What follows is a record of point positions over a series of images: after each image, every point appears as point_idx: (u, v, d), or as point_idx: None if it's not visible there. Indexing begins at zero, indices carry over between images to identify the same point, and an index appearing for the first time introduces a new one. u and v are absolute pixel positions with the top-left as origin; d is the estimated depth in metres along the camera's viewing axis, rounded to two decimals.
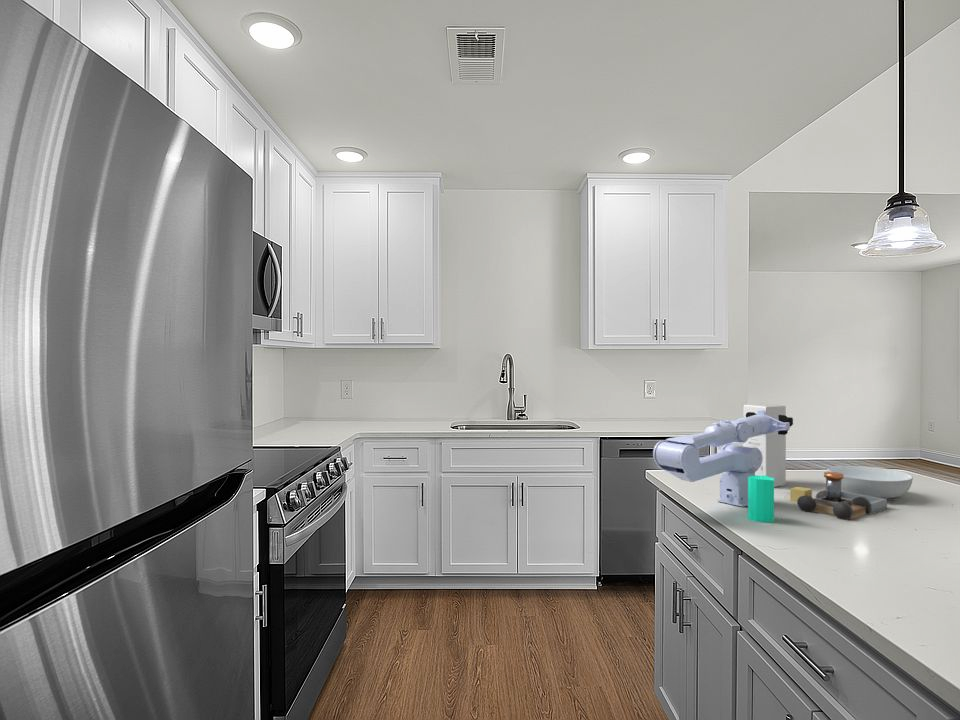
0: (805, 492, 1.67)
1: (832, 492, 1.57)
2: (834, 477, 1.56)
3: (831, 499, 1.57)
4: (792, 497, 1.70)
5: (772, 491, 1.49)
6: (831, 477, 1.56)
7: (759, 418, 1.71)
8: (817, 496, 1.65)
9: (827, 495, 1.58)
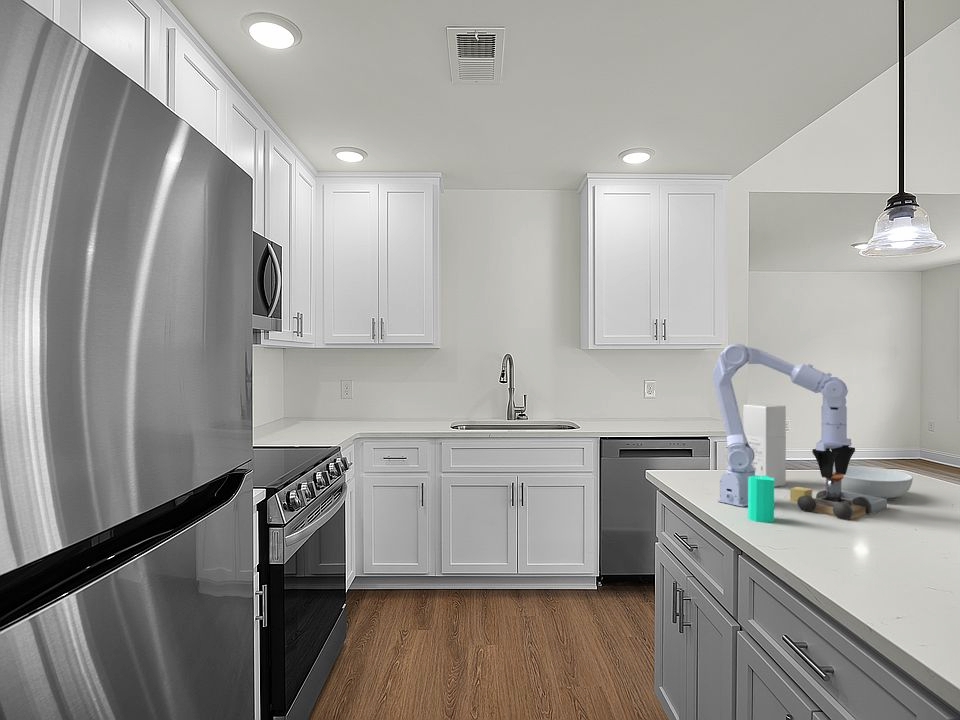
0: (805, 492, 1.67)
1: (832, 492, 1.57)
2: (834, 477, 1.56)
3: (831, 499, 1.57)
4: (792, 497, 1.70)
5: (772, 491, 1.49)
6: (831, 477, 1.56)
7: (840, 428, 1.55)
8: (817, 496, 1.65)
9: (827, 495, 1.58)
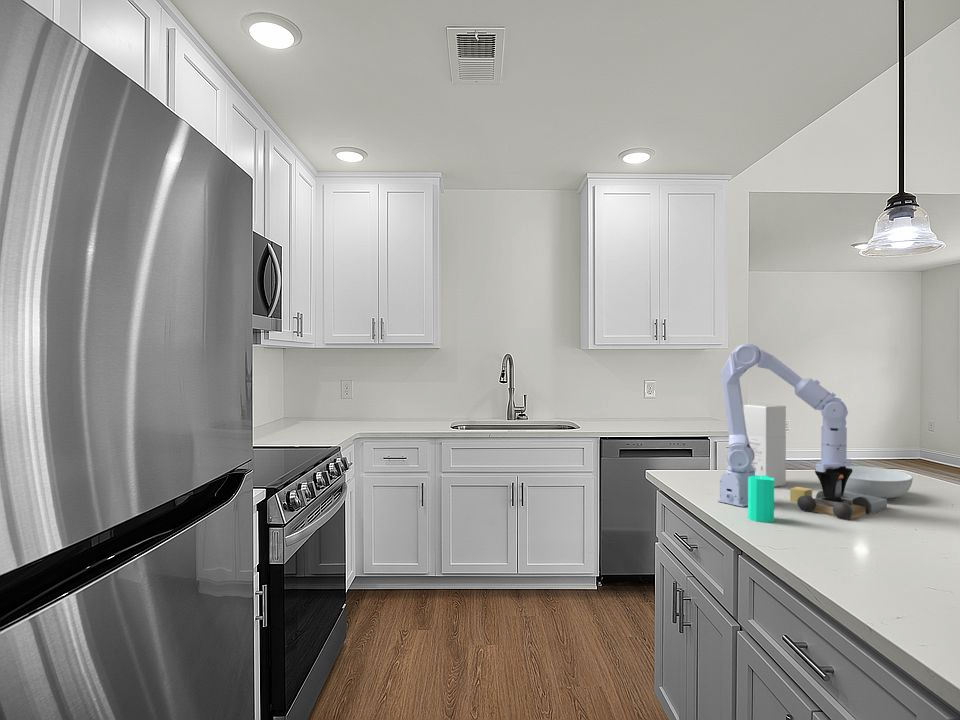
0: (805, 492, 1.67)
1: None
2: None
3: (831, 499, 1.57)
4: (792, 497, 1.70)
5: (772, 491, 1.49)
6: None
7: (839, 449, 1.55)
8: (817, 496, 1.65)
9: None
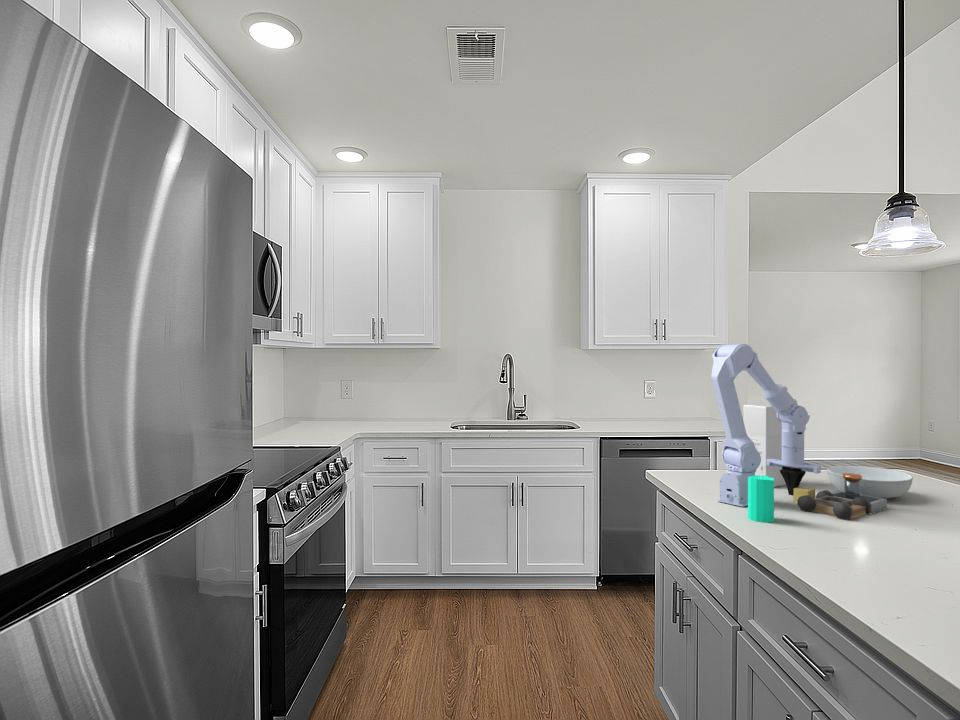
0: (808, 492, 1.67)
1: (851, 493, 1.62)
2: (853, 478, 1.61)
3: None
4: (795, 497, 1.69)
5: (772, 491, 1.49)
6: (850, 478, 1.62)
7: None
8: (817, 496, 1.65)
9: (846, 495, 1.63)
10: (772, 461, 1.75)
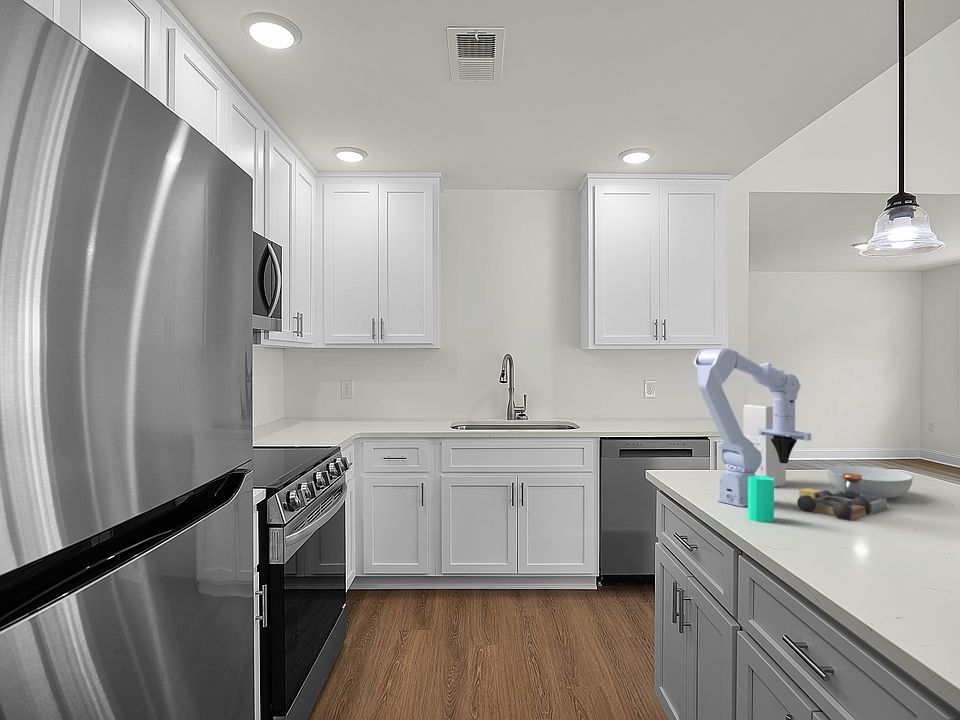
0: (814, 494, 1.65)
1: (851, 493, 1.62)
2: (853, 478, 1.61)
3: None
4: None
5: (772, 491, 1.49)
6: (850, 478, 1.62)
7: None
8: (817, 496, 1.65)
9: (846, 495, 1.63)
10: (764, 430, 1.77)
